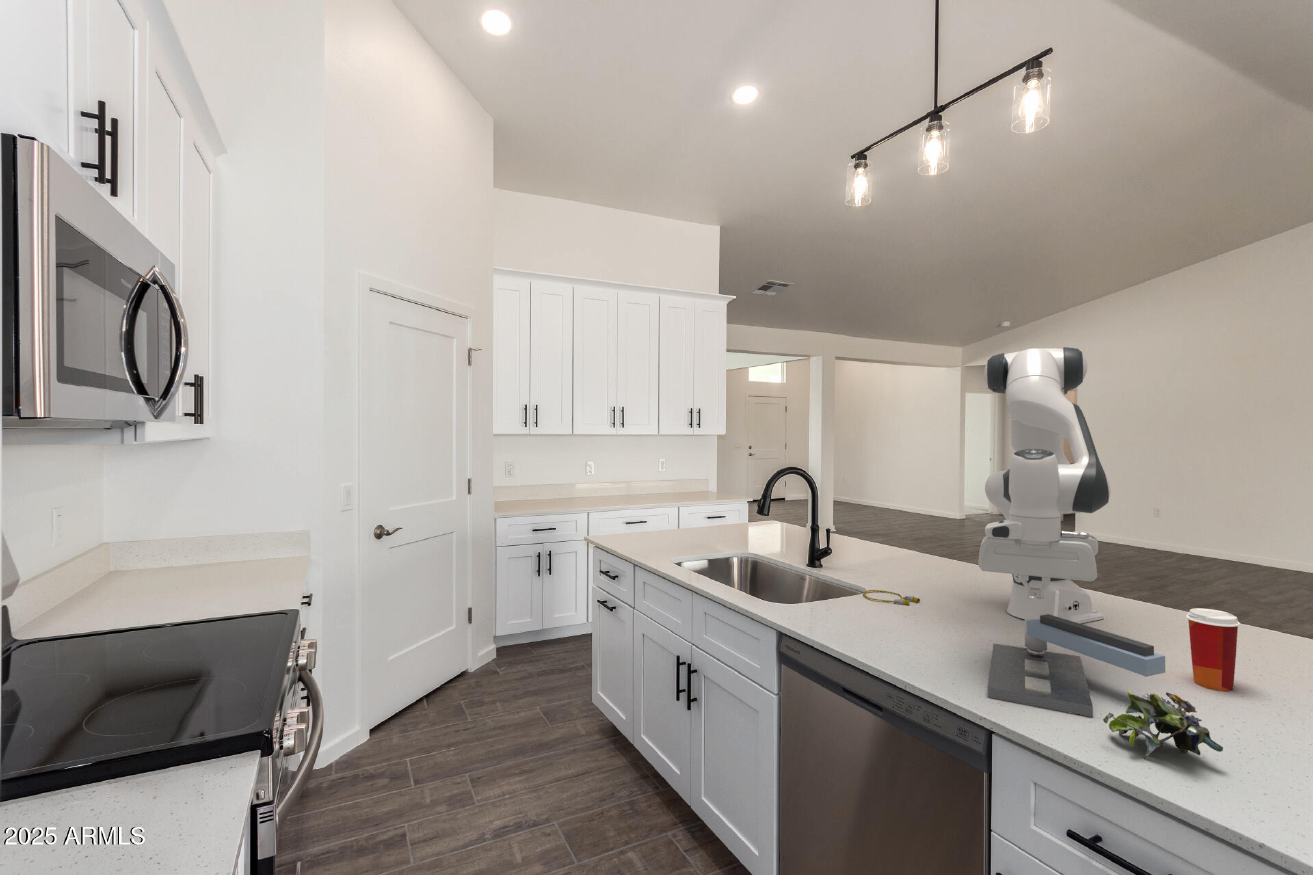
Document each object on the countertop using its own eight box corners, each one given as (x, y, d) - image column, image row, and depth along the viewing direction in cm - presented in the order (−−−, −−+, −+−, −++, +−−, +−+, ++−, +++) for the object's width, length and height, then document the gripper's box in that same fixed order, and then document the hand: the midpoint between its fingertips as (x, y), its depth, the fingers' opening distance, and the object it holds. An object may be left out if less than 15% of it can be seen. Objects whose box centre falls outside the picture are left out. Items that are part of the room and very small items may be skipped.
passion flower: (1181, 785, 92) (1244, 742, 86) (1140, 790, 88) (1203, 745, 82) (1119, 717, 101) (1172, 674, 95) (1079, 718, 97) (1132, 673, 91)
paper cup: (1226, 679, 117) (1225, 609, 117) (1250, 695, 110) (1249, 621, 110) (1177, 674, 120) (1177, 605, 120) (1198, 690, 112) (1197, 617, 112)
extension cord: (887, 609, 168) (887, 602, 167) (854, 595, 183) (854, 588, 183) (923, 605, 171) (923, 598, 171) (888, 591, 186) (888, 585, 186)
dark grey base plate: (993, 652, 133) (993, 638, 133) (1080, 665, 125) (1080, 650, 125) (987, 697, 111) (987, 680, 111) (1092, 717, 103) (1092, 699, 103)
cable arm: (1018, 645, 128) (1018, 610, 128) (1035, 642, 129) (1035, 608, 129) (1146, 693, 104) (1146, 650, 104) (1165, 689, 106) (1165, 646, 106)
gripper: (1096, 530, 117) (1097, 600, 117) (979, 523, 128) (979, 587, 128) (1100, 535, 111) (1100, 608, 112) (977, 528, 122) (978, 594, 122)
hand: (1035, 597), depth 120 cm, fingers closed
